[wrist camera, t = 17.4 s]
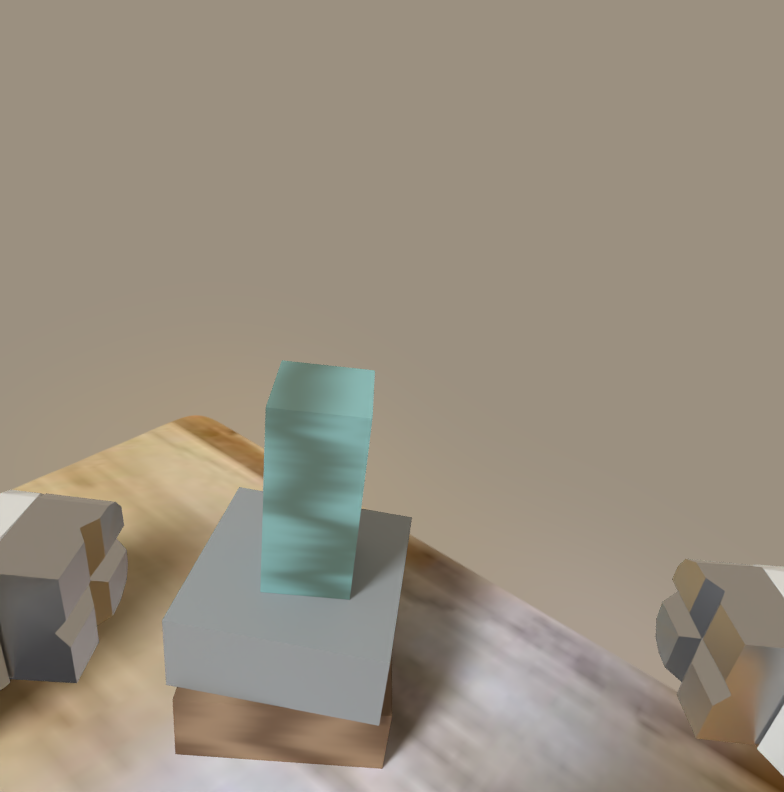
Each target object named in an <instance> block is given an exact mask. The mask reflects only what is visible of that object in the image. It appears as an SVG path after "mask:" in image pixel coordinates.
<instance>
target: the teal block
mask: <svg viewBox="0 0 784 792" xmlns="http://www.w3.org/2000/svg"><path fill="white" fill-rule="evenodd" d="M374 376H375V371H374V370H364V369H355V368H346V367H337V366H328V365H319V364H309V363H300V362H291V361H282V362H281V365H280V368H279V371H278V373H277V377H276V379H275V382H274V385H273V388H272V391H271V394H270V397H269V400H268V403H267V405H266V418H265V420H266V421H265V452H264V486H263V520H262V553H261V587H260V592H266V593H277V594H289V595H300V596H312V597H323V598H335V599H346V600H350V593H351V585H352V577H353V569H354V561H355V553H356V545H357V537H358V529H359V521H360V513H361V505H362V497H363V489H364V481H365V473H366V465H367V457H368V449H369V441H370V433H371V425H372V416H373V415H372V414H373V396H374Z"/></svg>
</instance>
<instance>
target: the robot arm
mask: <svg viewBox="0 0 784 792" xmlns="http://www.w3.org/2000/svg"><path fill="white" fill-rule="evenodd" d="M123 526H124V522H123V515H122V508H121V506H120V505H118V504H117V503H116V502H111V501H103V500H95V499H87V498H79V497H70V496H62V495H54V494H41V493H33V492H25V491H16V490H8V491H6V492H3V493H0V690H2V689H3V688H4V687H5V686H7V685H8V684H9V683H10V679H16V680H33V681H49V682H66V683H77V682H78V680H79V678H80V676H81V674H82V673H83V671H84V669H85V667H86V665H87V663H88V661H89V660H90V658H91V656H92V654H93V652H94V650H95V648H96V647H97V645H98V643H99V638H98V631H97V626H98V625H100V624H101V623H103V622H104V621H106V620H107V619H109V618H110V617H112V616H113V614H114V612H115V610H116V608H117V606H118V604H119V602H120V600H121V598H122V594H123V591H124V587H125V583H126V580H127V569H128V559H127V550H126V548H125V547H124V546H123V545H122V544H121V543H120V542H119V541H118V540H117V539H116V538H117V536H118V535H119V533H120V531H121V530H122V528H123ZM672 580H673V582H674V584H675V586H676V589H677V592H676V593H675V594H673V595H672V596H670V597H669V598H667V599H666V600H664V601H663V602H662V605H661V608H660V610H659V613H658V616H657V619H656V641H657V646H658V651H659V654H660V656H661V659H662V661H663V664H664V666H665V668H666V669H668V670H669V671H670V672H671V673H672V674H673V675H674V676H675V677H676V678H678V679H679V680H680V681H681V685H680V688H679V690H678V693H677V696H678V699H679V701H680V703H681V705H682V708H683V710H684V712H685V715H686V717H687V719H688V721H689V724H690V726H691V728H692V731H693V733H694V735H695V737H696V738H697V739H705V740H714V741H722V742H731V743H739V744H748V745H756V746H758V748H757V749H758V750H759V751H760V752H761V753H762V754H763V756H764V757H765V758H766V759H767V760H768V761H769V762H770V763H771V764H772V765H773V766H774V767H775V768H776V769H777V770H778V771H779V772H780V773H781V774H782V775H783V776H784V567H780V566H768V565H745V564H734V563H723V562H713V561H702V560H691V559H685V560H684V561H683V562H682V563H681V564H680V565H679V566H678V567H677V569H676V572H675V574H674V576H673V579H672Z"/></svg>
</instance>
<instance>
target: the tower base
mask: <svg viewBox="0 0 784 792" xmlns="http://www.w3.org/2000/svg"><path fill="white" fill-rule="evenodd" d="M173 715H174V733H175V752H176V754H181V755H196V756H210V757H224V758H238V759H252V760H267V761H281V762H295V763H309V764H323V765H338V766H352V767H366V768H380V769H382V767H383V762H384V756H385V751H386V746H387V740H388V735H389V730H390V724H391V719H392V653H391V660H390V666H389V672H388V677H387V683H386V689H385V694H384V700H383V706H382V712H381V717H380V723H379V726H377V725H372V724H367V723H362V722H357V721H352V720H346V719H341V718H336V717H331V716H326V715H320V714H315V713H310V712H305V711H300V710H295V709H290V708H285V707H279V706H274V705H269V704H264V703H259V702H253V701H248V700H243V699H238V698H233V697H228V696H222V695H217V694H212V693H207V692H202V691H197V690H191V689H186V688H181V687H177V689H176V692H175V694H174V697H173Z"/></svg>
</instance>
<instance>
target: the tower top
mask: <svg viewBox="0 0 784 792" xmlns="http://www.w3.org/2000/svg"><path fill="white" fill-rule="evenodd" d="M411 519H412V518H411V517H405V516H400V515H394V514H388V513H383V512H378V511H372V510H366V509H361V513H360V521H359V529H358V537H357V545H356V553H355V561H354V569H353V577H352V585H351V593H350V600H346V599H335V598H323V597H312V596H300V595H289V594H277V593H266V592H260V587H261V553H262V520H263V491H258V490H252V489H246V488H241V487H239V489H238V490H237V492H236V494H235V496H234V497H233V499H232V501H231V503H230V504H229V506H228V508H227V509H226V511H225V513H224V515H223V516H222V518H221V520H220V521H219V523H218V525H217V527H216V528H215V530H214V532H213V534H212V535H211V537H210V539H209V540H208V542H207V544H206V546H205V547H204V549H203V551H202V553H201V554H200V556H199V558H198V559H197V561H196V563H195V565H194V566H193V568H192V570H191V571H190V573H189V575H188V577H187V578H186V580H185V582H184V584H183V585H182V587H181V589H180V590H179V592H178V594H177V596H176V597H175V599H174V601H173V602H172V604H171V606H170V608H169V609H168V611H167V613H166V615H165V616H164V618H163V620H162V625H163V641H164V656H165V672H166V685H170V686H175V687H181V688H186V689H191V690H197V691H202V692H207V693H212V694H217V695H222V696H228V697H233V698H238V699H243V700H248V701H253V702H259V703H264V704H269V705H274V706H279V707H285V708H290V709H295V710H300V711H305V712H310V713H315V714H320V715H326V716H331V717H336V718H341V719H346V720H352V721H357V722H362V723H367V724H372V725H377V726H379V723H380V717H381V712H382V706H383V700H384V694H385V689H386V683H387V677H388V672H389V666H390V660H391V653H392V646H393V640H394V633H395V626H396V620H397V613H398V607H399V600H400V593H401V587H402V580H403V573H404V567H405V560H406V553H407V547H408V540H409V533H410V527H411Z"/></svg>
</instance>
